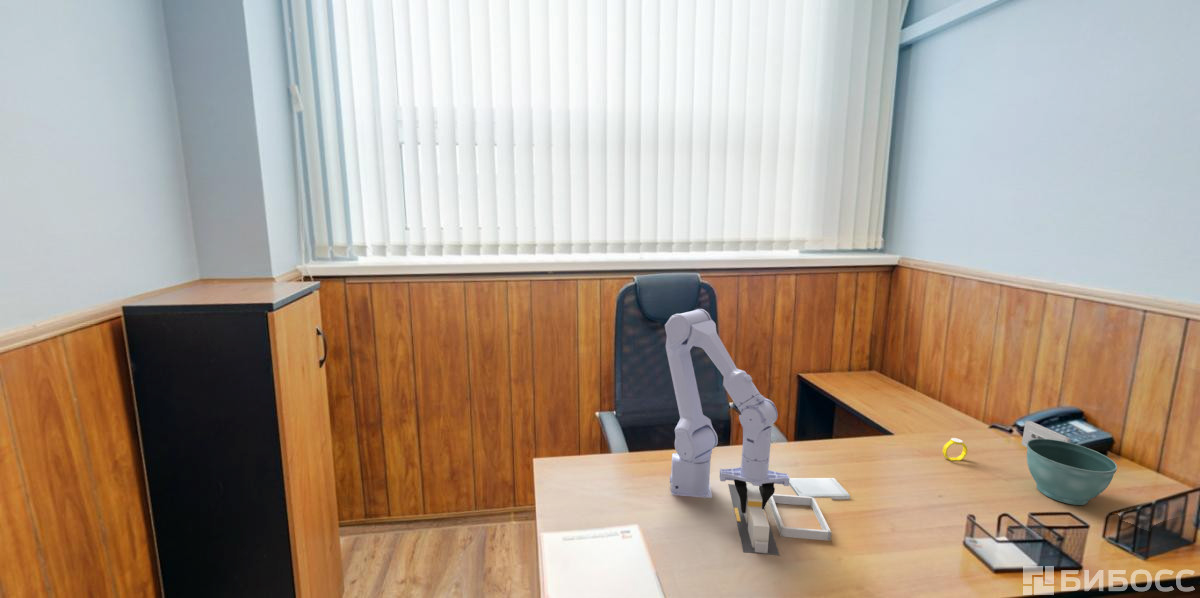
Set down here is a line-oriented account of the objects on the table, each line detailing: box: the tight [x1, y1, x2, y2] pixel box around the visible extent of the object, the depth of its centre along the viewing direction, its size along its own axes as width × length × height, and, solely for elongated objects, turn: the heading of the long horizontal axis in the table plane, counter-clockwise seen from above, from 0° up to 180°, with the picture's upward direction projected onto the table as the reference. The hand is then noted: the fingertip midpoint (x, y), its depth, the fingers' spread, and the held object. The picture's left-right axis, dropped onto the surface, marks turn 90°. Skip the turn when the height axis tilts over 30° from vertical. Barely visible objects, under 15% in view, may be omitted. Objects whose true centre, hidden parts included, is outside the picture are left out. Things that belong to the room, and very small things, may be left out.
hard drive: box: [789, 477, 851, 500], centre depth 127 cm, size 2×8×12 cm
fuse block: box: [727, 483, 781, 556], centre depth 115 cm, size 7×25×3 cm, turn 173°
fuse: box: [748, 508, 771, 548], centre depth 107 cm, size 3×6×5 cm, turn 173°
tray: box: [767, 493, 832, 542], centre depth 114 cm, size 10×13×2 cm
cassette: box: [1021, 420, 1071, 449], centre depth 146 cm, size 12×2×8 cm, turn 9°
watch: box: [942, 437, 968, 462], centre depth 142 cm, size 6×3×6 cm, turn 91°
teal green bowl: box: [1026, 438, 1118, 506], centre depth 125 cm, size 16×16×11 cm
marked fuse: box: [744, 484, 762, 524], centre depth 115 cm, size 3×6×6 cm, turn 173°
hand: (751, 511), depth 115 cm, fingers closed on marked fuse, 3 cm apart
